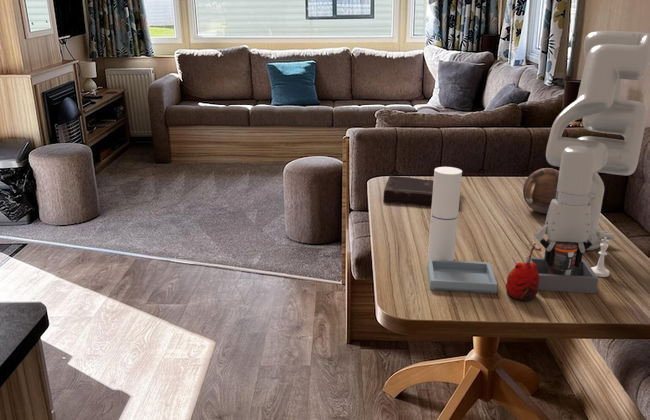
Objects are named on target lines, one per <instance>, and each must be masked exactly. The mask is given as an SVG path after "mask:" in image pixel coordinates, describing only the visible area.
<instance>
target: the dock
mask: <svg viewBox="0 0 650 420" xmlns="http://www.w3.org/2000/svg"><path fill="white" fill-rule="evenodd" d="M528 259H529V257H527V256H526V258H525V263H527V261H528ZM530 263H535V264H536V265H537V270H538V273H539V286H538V291H548V292H549V291H551V292H565V293H567V292H568V293H583V294H597V289H598V284H599V276H596V274H595V273H594V271H593V270H592V269H591V266H590V264H589V263H588V262H587V260H585V259H582V261H581V263H579V267H575V266H574V273H573V275H555V274H549V266H548V264H547V262H546V261H545V260H544V257H532V256H531V259H530Z"/></svg>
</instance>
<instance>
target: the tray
mask: <svg viewBox="0 0 650 420" xmlns="http://www.w3.org/2000/svg"><path fill="white" fill-rule="evenodd" d="M427 274H428V275H427V276H428V284H429V290H430V291H445V292H461V293H462V292H463V293H475V294H493V295H495V294H496V295H497V294H498V293H497V292H498V283H497V279H496V277H495V273H494V270H493V267H492V264H491V262H489V261H488V262H487V261H485V262H484V261H470V260H469V261H467V260H453V261H452V260H435V259H428V258H427Z"/></svg>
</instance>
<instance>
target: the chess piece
mask: <svg viewBox="0 0 650 420" xmlns="http://www.w3.org/2000/svg"><path fill="white" fill-rule="evenodd" d="M600 241H601V244H600V247H599V248H600V251H598V255H599V258H598V261H597V265H595V266H592V267H591V266H590V267H591V269H592V270H593V271H594V273H595V274H596V276H597V277H598V278H599V277H601V278H607V277H609V276H610V270H609V269H607V268H606V267H605V256H607V255H608V253H607V252H606V251H607V249H608V248H609V244H608V243H609V242H610V240H606V237H605V238H604V239H602V240H600Z"/></svg>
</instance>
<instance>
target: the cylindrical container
mask: <svg viewBox="0 0 650 420" xmlns="http://www.w3.org/2000/svg"><path fill="white" fill-rule="evenodd" d="M462 175H463V170H462V169H460V168H457V167H453V166H439V167H435V168H434V172H433V180H434V182H433V195H432V206H431V209H430V222H429V235H428V248H427V249H428V250H427V260H428V259H435V260H452V261H455V251H456V242H457V240H456V239H457V230H458V218H459V209H460V196H461V189H462V188H461V185H462V177H463V176H462Z"/></svg>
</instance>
